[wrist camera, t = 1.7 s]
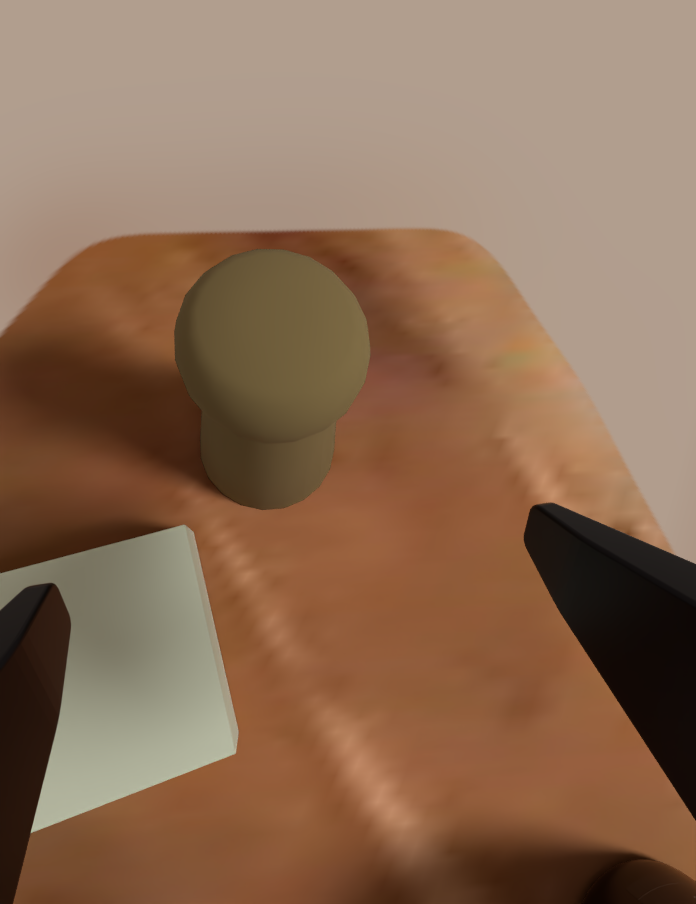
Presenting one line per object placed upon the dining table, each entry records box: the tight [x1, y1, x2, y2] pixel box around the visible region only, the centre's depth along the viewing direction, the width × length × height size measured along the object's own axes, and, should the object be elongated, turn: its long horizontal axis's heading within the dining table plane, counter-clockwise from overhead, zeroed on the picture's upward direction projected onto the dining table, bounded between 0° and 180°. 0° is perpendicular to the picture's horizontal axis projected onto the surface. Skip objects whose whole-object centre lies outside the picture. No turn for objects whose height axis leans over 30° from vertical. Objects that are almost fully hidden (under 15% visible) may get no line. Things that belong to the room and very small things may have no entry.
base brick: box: [0, 525, 239, 833], centre depth 17 cm, size 8×8×2 cm
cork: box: [174, 249, 370, 510], centre depth 17 cm, size 6×6×11 cm
